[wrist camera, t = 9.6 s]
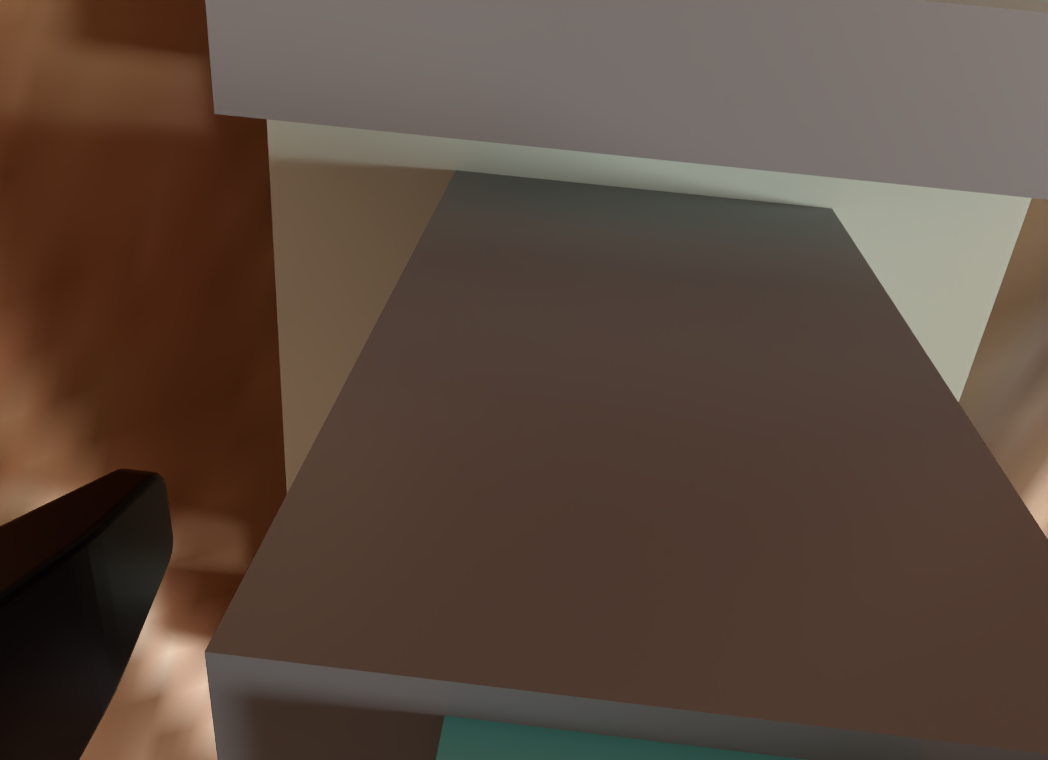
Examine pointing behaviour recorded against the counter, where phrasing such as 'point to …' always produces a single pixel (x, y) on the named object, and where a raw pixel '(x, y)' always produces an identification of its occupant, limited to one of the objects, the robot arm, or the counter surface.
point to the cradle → (635, 137)
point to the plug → (639, 510)
